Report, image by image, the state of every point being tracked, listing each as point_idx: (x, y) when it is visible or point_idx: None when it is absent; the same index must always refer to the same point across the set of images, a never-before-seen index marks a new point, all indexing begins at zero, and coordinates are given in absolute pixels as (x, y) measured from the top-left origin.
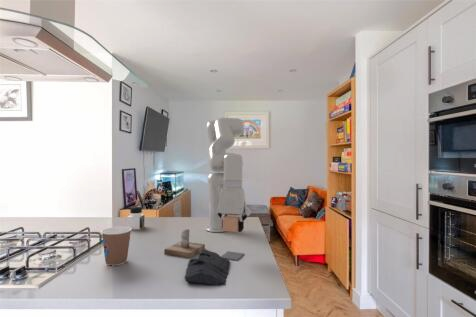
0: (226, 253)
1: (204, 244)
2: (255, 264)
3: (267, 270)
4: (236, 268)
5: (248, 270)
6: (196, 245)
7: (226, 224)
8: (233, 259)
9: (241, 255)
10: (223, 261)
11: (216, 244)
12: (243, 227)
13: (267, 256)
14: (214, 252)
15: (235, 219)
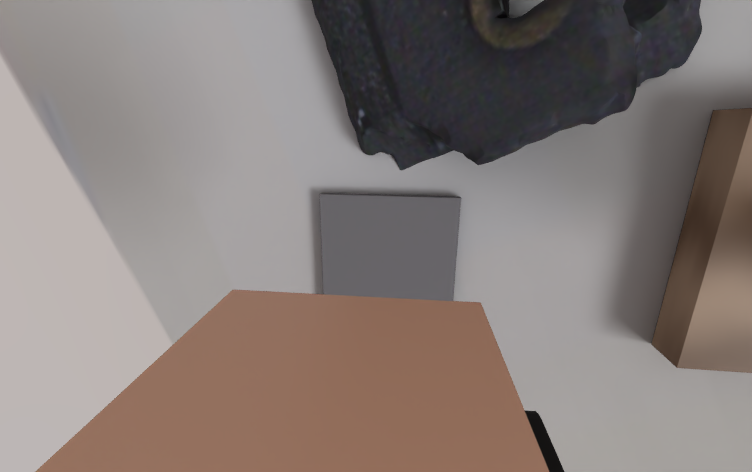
0: (442, 287)
1: (678, 361)
2: (187, 173)
3: (79, 100)
4: (269, 48)
5: (181, 47)
6: (749, 318)
7: (408, 364)
8: (350, 195)
9: (325, 282)
10: (372, 48)
11: (588, 451)
12: None
13: (180, 330)
14: (501, 143)
15: (95, 458)
